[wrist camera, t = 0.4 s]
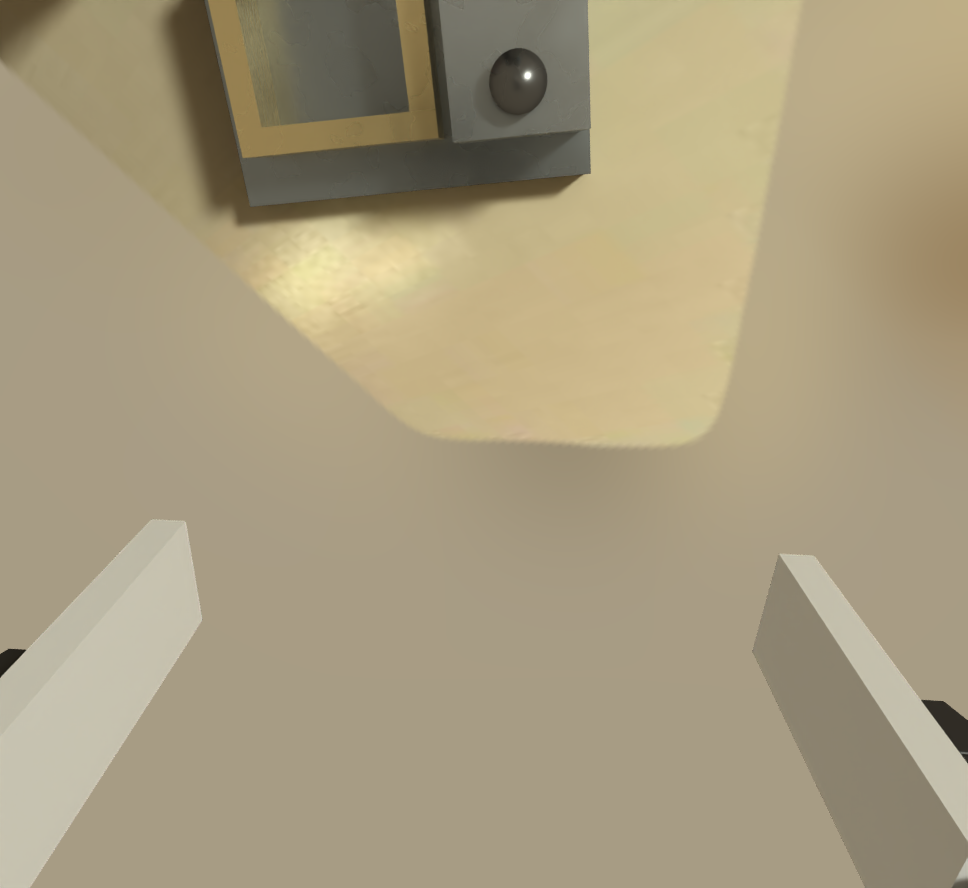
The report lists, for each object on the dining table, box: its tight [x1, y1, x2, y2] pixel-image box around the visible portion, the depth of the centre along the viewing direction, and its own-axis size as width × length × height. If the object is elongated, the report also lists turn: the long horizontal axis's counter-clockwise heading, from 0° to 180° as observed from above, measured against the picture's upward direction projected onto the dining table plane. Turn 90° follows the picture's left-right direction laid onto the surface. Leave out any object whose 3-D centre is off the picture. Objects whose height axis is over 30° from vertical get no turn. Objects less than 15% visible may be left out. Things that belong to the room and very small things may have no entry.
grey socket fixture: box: [204, 0, 591, 207], centre depth 30 cm, size 14×18×8 cm
